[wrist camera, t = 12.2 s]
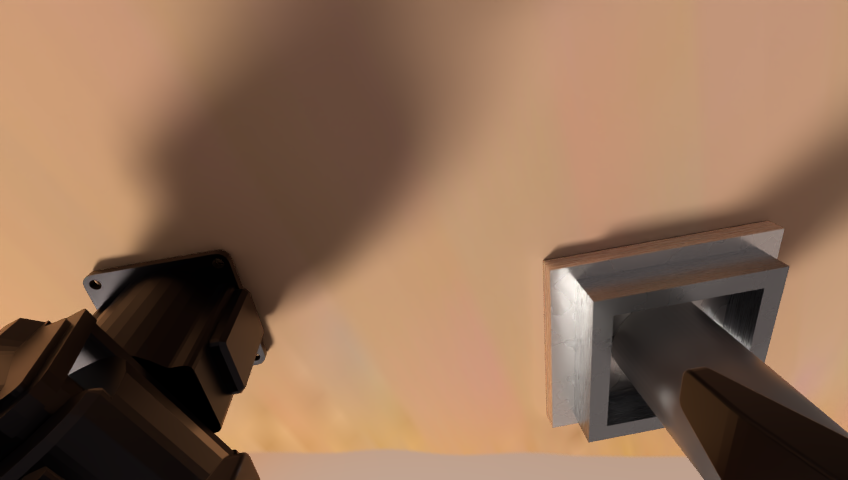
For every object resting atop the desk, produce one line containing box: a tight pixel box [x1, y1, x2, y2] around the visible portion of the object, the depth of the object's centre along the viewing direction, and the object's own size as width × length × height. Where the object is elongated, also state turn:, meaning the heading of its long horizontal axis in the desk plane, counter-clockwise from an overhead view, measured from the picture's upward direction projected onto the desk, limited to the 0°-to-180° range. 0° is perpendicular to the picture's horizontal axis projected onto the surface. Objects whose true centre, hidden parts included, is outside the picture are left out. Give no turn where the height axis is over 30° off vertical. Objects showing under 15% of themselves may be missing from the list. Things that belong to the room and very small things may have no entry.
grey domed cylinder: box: [612, 302, 848, 480], centre depth 19 cm, size 5×5×12 cm
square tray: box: [543, 221, 789, 442], centre depth 24 cm, size 12×11×3 cm
